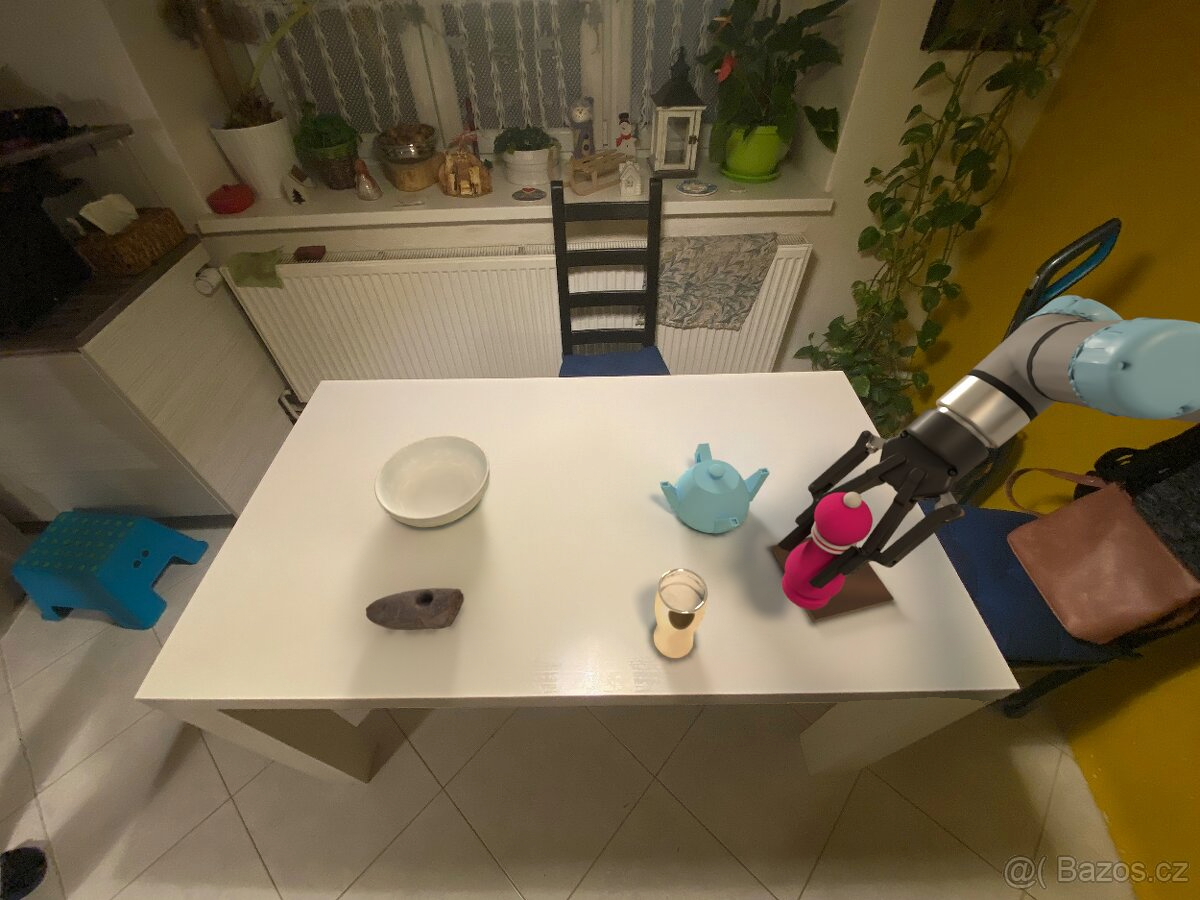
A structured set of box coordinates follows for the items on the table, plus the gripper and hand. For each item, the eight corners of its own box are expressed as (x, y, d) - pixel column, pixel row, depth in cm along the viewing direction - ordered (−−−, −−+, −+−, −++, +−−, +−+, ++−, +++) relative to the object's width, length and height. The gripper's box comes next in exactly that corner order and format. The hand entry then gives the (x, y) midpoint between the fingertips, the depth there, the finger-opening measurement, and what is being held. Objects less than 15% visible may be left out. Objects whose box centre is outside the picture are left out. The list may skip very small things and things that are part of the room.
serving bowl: (499, 455, 106) (494, 431, 101) (489, 538, 91) (482, 515, 87) (399, 460, 106) (389, 436, 101) (373, 544, 91) (359, 521, 86)
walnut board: (891, 602, 81) (894, 598, 81) (813, 622, 79) (814, 619, 79) (842, 532, 91) (844, 528, 90) (770, 549, 89) (772, 545, 88)
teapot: (765, 501, 96) (778, 462, 89) (729, 556, 88) (740, 518, 80) (694, 466, 103) (700, 427, 95) (654, 514, 94) (658, 476, 87)
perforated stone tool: (368, 637, 79) (351, 616, 74) (377, 606, 83) (362, 584, 78) (464, 633, 79) (454, 612, 74) (469, 602, 83) (460, 580, 78)
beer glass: (697, 621, 80) (710, 570, 69) (695, 665, 75) (708, 618, 64) (652, 614, 81) (658, 563, 70) (648, 657, 76) (653, 609, 65)
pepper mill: (780, 609, 67) (825, 517, 53) (775, 562, 72) (815, 466, 58) (837, 617, 66) (899, 526, 52) (828, 569, 71) (883, 473, 57)
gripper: (1044, 494, 51) (863, 631, 59) (903, 392, 63) (766, 517, 70) (1040, 476, 46) (841, 629, 53) (887, 369, 58) (741, 506, 65)
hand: (799, 565), depth 62 cm, fingers closed on pepper mill, 5 cm apart
